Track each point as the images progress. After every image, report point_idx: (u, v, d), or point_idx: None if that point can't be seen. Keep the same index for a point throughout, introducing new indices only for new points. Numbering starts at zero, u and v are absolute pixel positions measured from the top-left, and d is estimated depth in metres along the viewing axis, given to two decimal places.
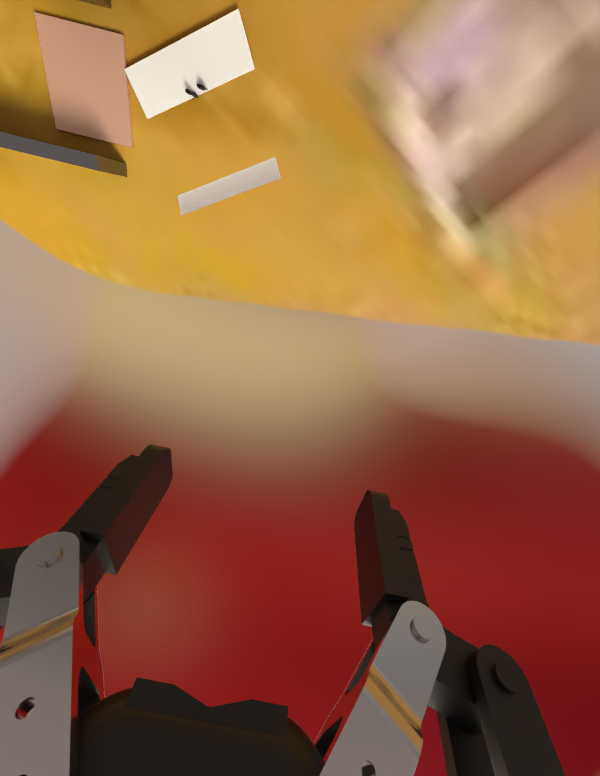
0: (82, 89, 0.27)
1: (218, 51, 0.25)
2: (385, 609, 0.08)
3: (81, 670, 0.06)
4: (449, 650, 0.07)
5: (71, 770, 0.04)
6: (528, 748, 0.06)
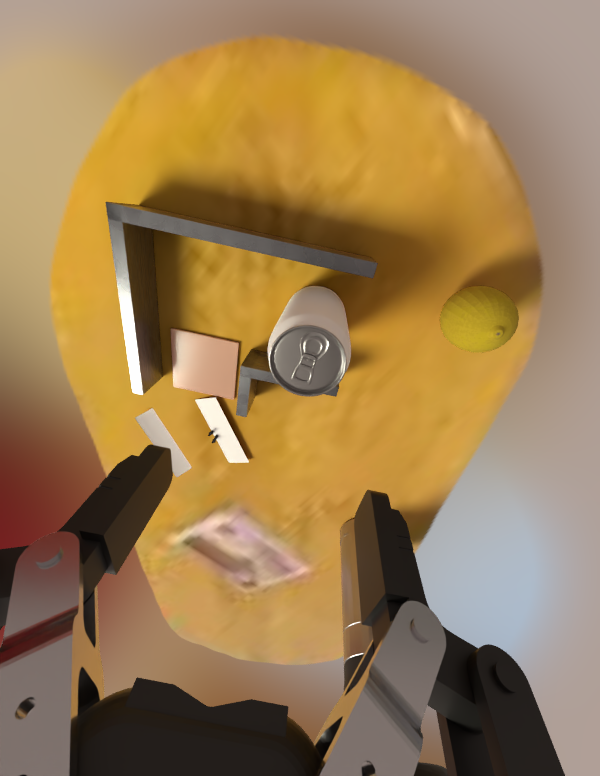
0: (200, 362, 0.34)
1: (232, 449, 0.41)
2: (385, 609, 0.08)
3: (81, 670, 0.06)
4: (449, 650, 0.07)
5: (71, 770, 0.04)
6: (528, 748, 0.06)
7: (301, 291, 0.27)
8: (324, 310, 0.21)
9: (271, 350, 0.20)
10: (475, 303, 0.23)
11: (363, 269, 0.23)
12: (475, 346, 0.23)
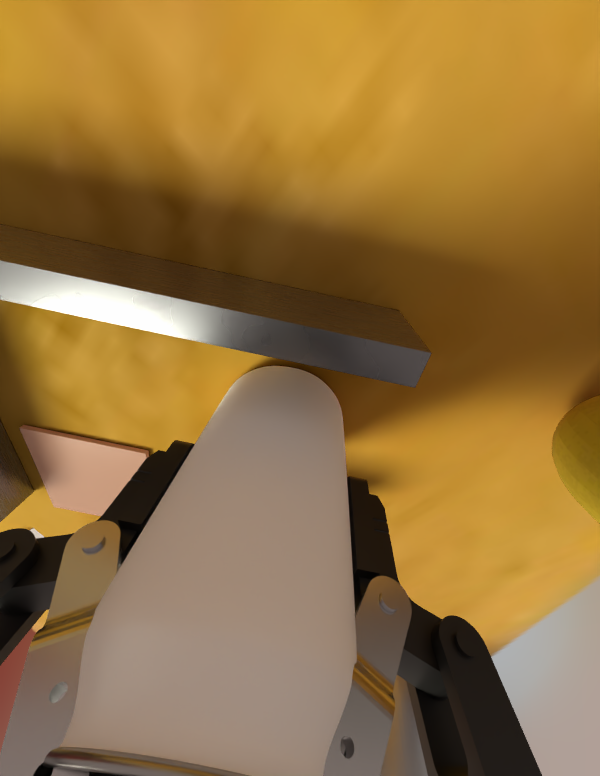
0: (87, 477, 0.19)
1: None
2: (357, 584, 0.08)
3: None
4: (416, 621, 0.08)
5: None
6: (488, 706, 0.06)
7: (244, 386, 0.12)
8: (264, 554, 0.06)
9: None
10: None
11: (390, 367, 0.08)
12: None
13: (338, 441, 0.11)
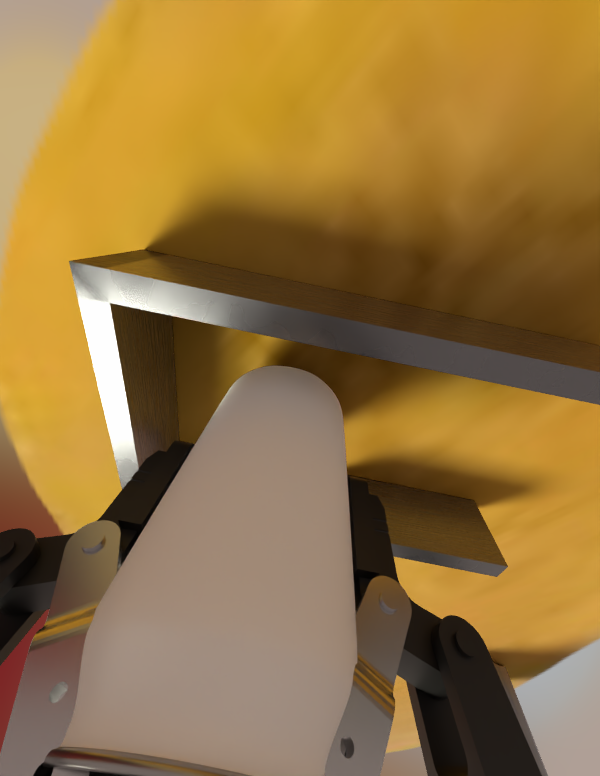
0: None
1: None
2: (357, 584, 0.08)
3: None
4: (416, 621, 0.08)
5: None
6: (488, 706, 0.06)
7: (244, 386, 0.12)
8: (264, 554, 0.06)
9: None
10: None
11: None
12: None
13: (338, 441, 0.11)
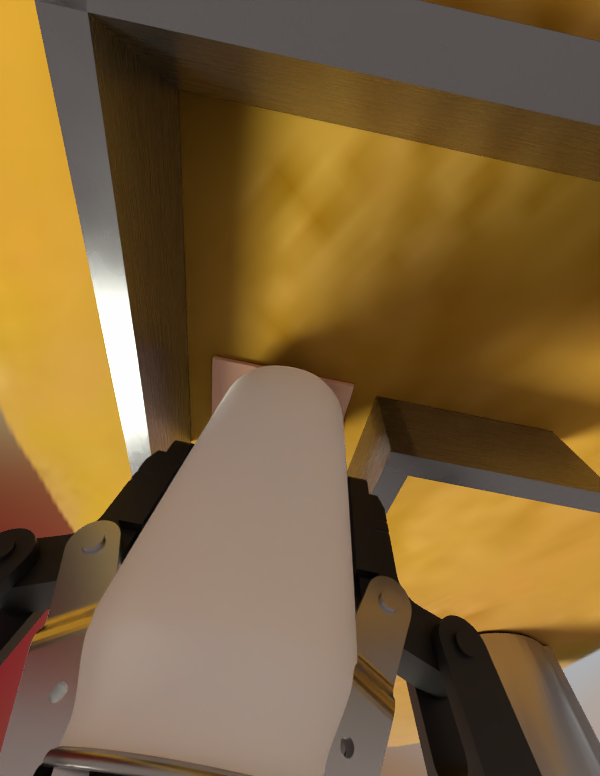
0: None
1: None
2: (357, 584, 0.08)
3: None
4: (415, 621, 0.08)
5: None
6: (488, 706, 0.06)
7: (244, 385, 0.12)
8: (264, 553, 0.06)
9: None
10: None
11: None
12: None
13: (338, 441, 0.11)
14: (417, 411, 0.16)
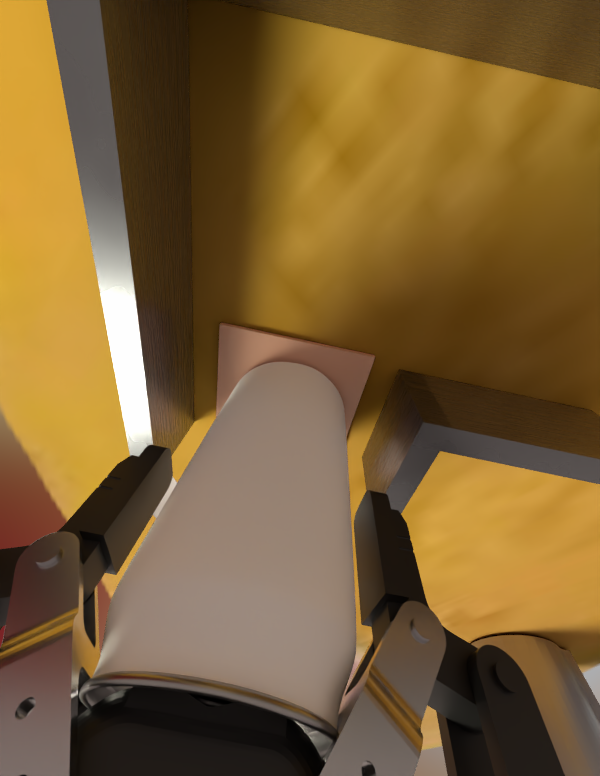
0: None
1: None
2: (385, 609, 0.08)
3: (81, 670, 0.06)
4: (449, 650, 0.07)
5: (71, 770, 0.04)
6: (528, 748, 0.06)
7: (250, 381, 0.13)
8: (271, 522, 0.07)
9: (84, 697, 0.06)
10: None
11: None
12: None
13: (339, 430, 0.12)
14: (444, 385, 0.14)
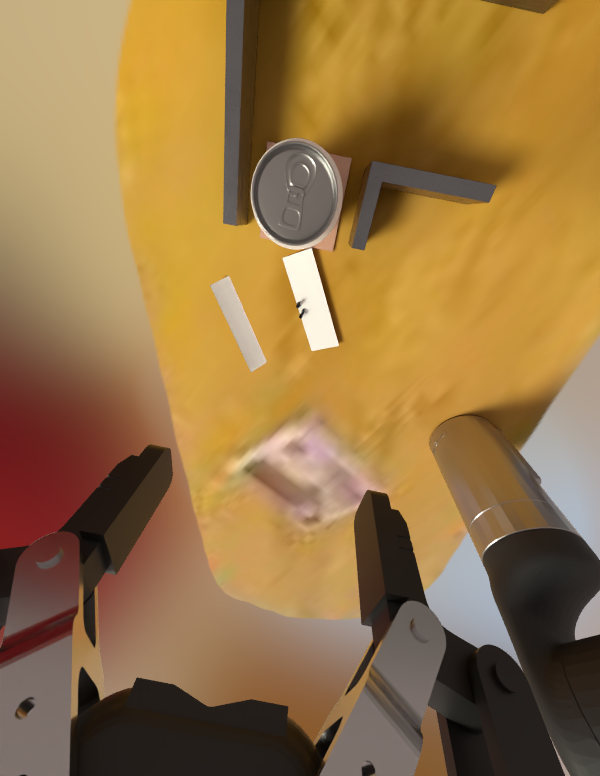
0: None
1: (320, 328, 0.35)
2: (385, 609, 0.08)
3: (81, 670, 0.06)
4: (449, 650, 0.07)
5: (71, 770, 0.04)
6: (528, 748, 0.06)
7: None
8: None
9: (253, 183, 0.18)
10: None
11: None
12: None
13: None
14: None
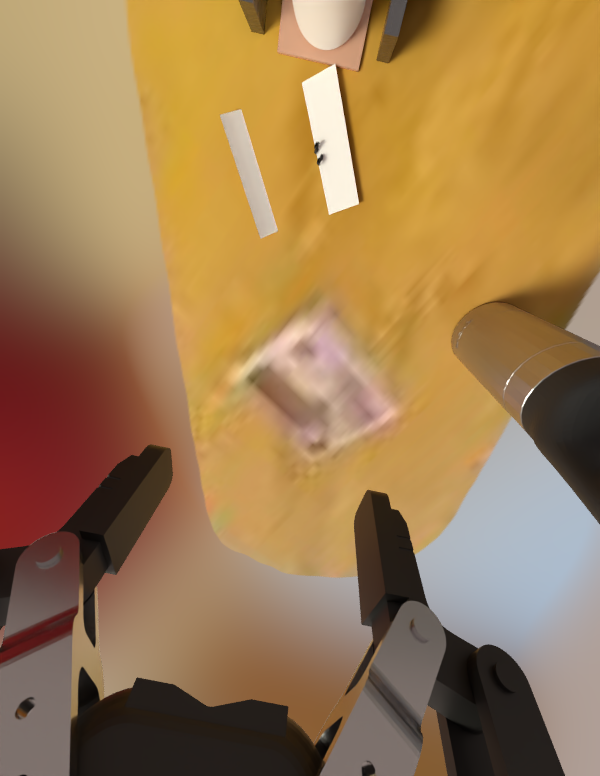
0: None
1: (339, 181, 0.32)
2: (385, 609, 0.08)
3: (81, 670, 0.06)
4: (449, 650, 0.07)
5: (71, 770, 0.04)
6: (528, 748, 0.06)
7: None
8: None
9: None
10: None
11: None
12: None
13: None
14: None
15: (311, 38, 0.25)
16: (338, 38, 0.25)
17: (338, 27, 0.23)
